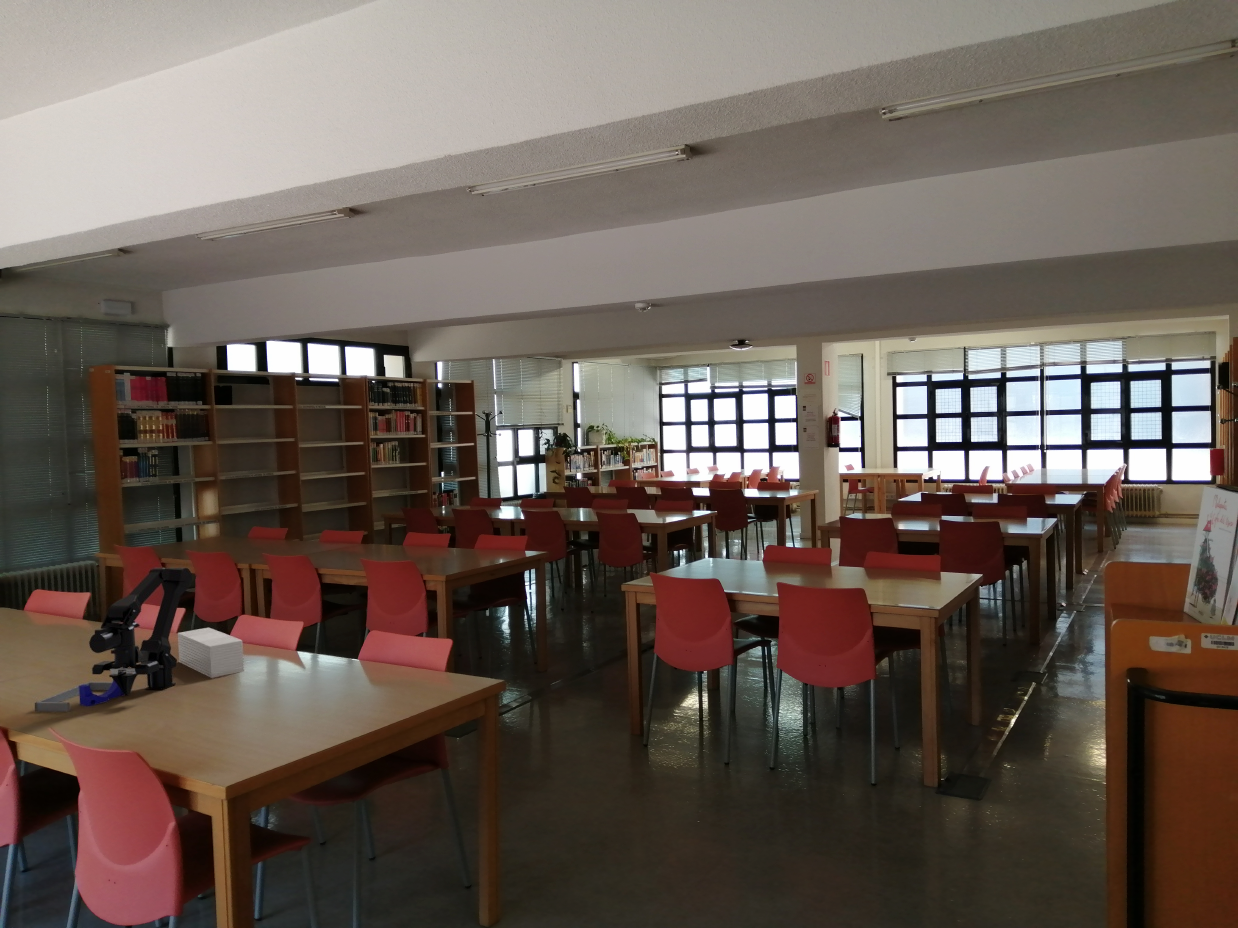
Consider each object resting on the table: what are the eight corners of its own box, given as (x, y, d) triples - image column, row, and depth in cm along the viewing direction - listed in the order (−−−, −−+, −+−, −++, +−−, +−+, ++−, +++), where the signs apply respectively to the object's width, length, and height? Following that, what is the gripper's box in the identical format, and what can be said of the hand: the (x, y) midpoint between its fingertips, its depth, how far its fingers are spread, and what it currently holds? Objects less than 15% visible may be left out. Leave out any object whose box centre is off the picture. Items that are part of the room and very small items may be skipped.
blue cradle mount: (88, 706, 263) (87, 687, 262) (80, 705, 265) (78, 685, 265) (127, 695, 273) (126, 676, 273) (119, 694, 275) (118, 675, 275)
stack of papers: (244, 671, 297) (242, 640, 297) (211, 678, 290) (209, 646, 290) (210, 656, 320) (208, 627, 320) (179, 662, 313) (177, 632, 313)
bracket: (120, 689, 279) (119, 681, 279) (67, 711, 258) (67, 703, 258) (89, 689, 281) (89, 681, 281) (35, 711, 259) (34, 702, 259)
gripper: (169, 638, 273) (172, 687, 274) (115, 638, 276) (118, 687, 276) (145, 647, 262) (148, 698, 263) (89, 647, 265) (92, 698, 265)
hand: (127, 695), depth 267 cm, fingers closed
